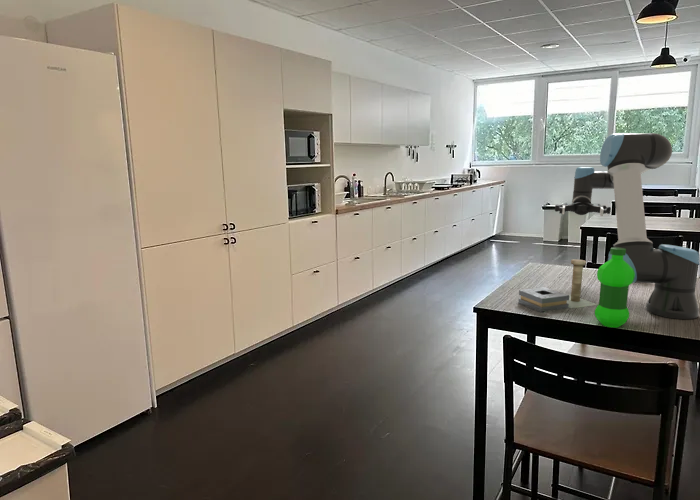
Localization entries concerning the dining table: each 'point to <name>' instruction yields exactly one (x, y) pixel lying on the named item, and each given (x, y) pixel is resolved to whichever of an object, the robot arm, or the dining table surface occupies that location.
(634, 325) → the dining table surface
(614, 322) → the plastic bottle
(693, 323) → the dining table surface
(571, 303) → the mat
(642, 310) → the dining table surface
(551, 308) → the square socket block
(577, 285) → the pin
